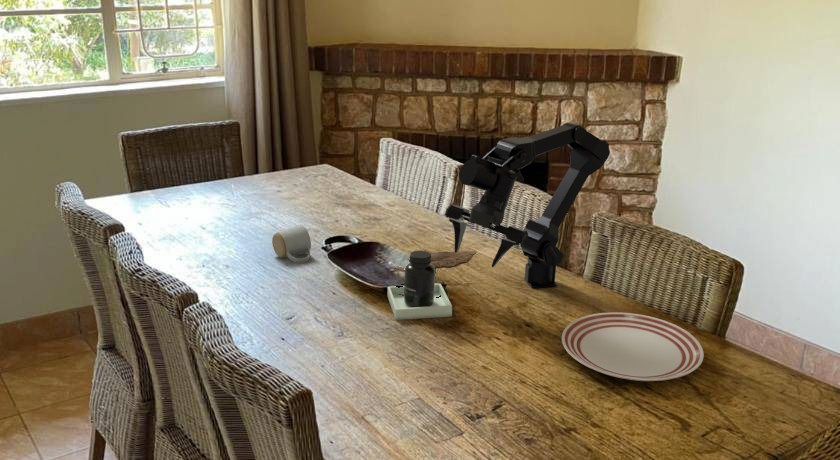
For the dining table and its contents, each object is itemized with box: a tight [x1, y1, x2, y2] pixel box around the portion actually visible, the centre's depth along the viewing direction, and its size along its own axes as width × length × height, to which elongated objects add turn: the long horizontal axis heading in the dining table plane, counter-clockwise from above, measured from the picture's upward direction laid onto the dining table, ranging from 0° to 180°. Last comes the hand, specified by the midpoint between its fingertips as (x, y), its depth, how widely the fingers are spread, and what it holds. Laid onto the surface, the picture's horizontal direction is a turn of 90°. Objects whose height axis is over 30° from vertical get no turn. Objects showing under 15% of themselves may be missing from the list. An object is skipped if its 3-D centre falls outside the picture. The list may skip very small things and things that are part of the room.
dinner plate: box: [561, 312, 705, 382], centre depth 154 cm, size 27×27×3 cm
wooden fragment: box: [393, 250, 477, 273], centre depth 202 cm, size 26×11×1 cm, turn 120°
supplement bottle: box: [403, 250, 436, 308], centre depth 173 cm, size 7×7×12 cm
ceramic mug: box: [271, 224, 312, 264], centre depth 202 cm, size 11×8×8 cm
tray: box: [387, 283, 453, 321], centre depth 175 cm, size 13×13×2 cm
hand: (474, 259), depth 175 cm, fingers open, 9 cm apart
